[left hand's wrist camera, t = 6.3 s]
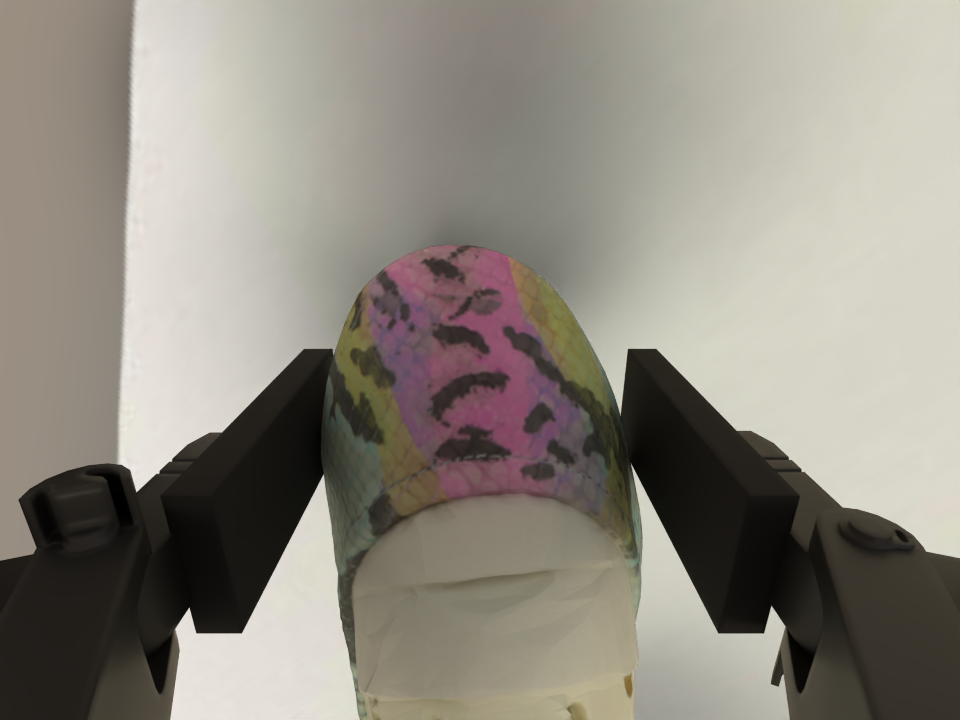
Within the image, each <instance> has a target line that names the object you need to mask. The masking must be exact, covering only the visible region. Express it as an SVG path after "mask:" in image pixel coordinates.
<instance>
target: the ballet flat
mask: <svg viewBox="0 0 960 720" xmlns="http://www.w3.org/2000/svg"><path fill="white" fill-rule="evenodd" d="M321 460H322V467H323V472H324V479H325V487H326V494H327V500H328V507H329V512H330V518H331V525H332V536H333V542H334V553H335V562H336V566H337V570H338V600H339V607H340V617H341V620H342V625H343V632H344V635H345V639H346V644H347V647H348V651H349V658H350V667H351V670H352V674H353V680H354V686H355V691H356V699H357V709H358V715H359V718H360V720H634V670H635V669H636V667H637V666H638V658H639V653H638V644H637V635H636V626H635V621H636V616H637V612H638V607H639V602H640V594H641V560H642V525H641V517H640V509H639V503H638V498H637V493H636V487H635V482H634V477H633V472H632V467H631V461H630V455H629V450H628V445H627V440H626V436H625V431H624V426H623V423H622V419H621V416H620V413H619V409H618V406H617V403H616V399H615V396H614V393H613V391H612V388H611V386H610V383H609V381H608V378H607V376H606V373H605V371H604V369H603V367H602V365H601V363H600V361H599V359H598V357H597V356H596V354H595V352H594V350H593V348H592V346H591V344H590V342H589V341H588V339H587V337H586V335H585V334H584V332H583V330H582V329H581V327H580V325H579V323H578V322H577V320H576V318H575V317H574V315H573V313H572V312H571V310H570V309H569V308H568V306H567V305H566V303H565V302H564V301H563V300H562V299H561V297H560V296H559V295H558V294H557V293H556V291H555V290H554V289H553V288H552V287H551V286H550V285H549V284H548V283H547V282H546V281H545V280H543V279H542V278H541V277H540V276H538V275H537V274H536V273H535V272H534V271H532V270H531V269H530V268H528V267H526V266H525V265H523V264H521V263H520V262H518V261H516V260H515V259H513V258H511V257H508V256H506V255H503V254H501V253H498V252H495V251H491V250H488V249H485V248H482V247H475V246H469V245H468V246H456V245H442V246H434V247H429V248H425V249H422V250H419V251H416V252H413V253H410V254H408V255H406V256H404V257H402V258H400V259H398V260H396V261H395V262H393V263H392V264H390V265H389V266H387V267H386V268H384V269H383V270H382V271H381V272H380V273H379V274H378V275H376V276H375V277H374V278H373V279H372V280H371V281H370V282H369V283H368V284H367V285H366V286H365V287H364V288H363V289H362V291H361V292H360V293H359V295H358V297H357V299H356V301H355V303H354V305H353V307H352V309H351V311H350V313H349V315H348V317H347V319H346V322H345V324H344V327H343V330H342V333H341V336H340V339H339V341H338V344H337V347H336V350H335V353H334V356H333V359H332V363H331V368H330V372H329V376H328V380H327V384H326V392H325V399H324V406H323V416H322V427H321Z"/></svg>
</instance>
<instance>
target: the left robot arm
mask: <svg viewBox="0 0 960 720" xmlns="http://www.w3.org/2000/svg"><path fill="white" fill-rule="evenodd" d="M332 359H333V350H332V349H304V350H303V351H302V352H301V353H300V354H299V355H298V356H297V357H296V358H295V359H294V360H293V361H292V362H291V363H290V364H289V365H288V366H287V367H286V368H285V369H284V370H283V371H282V372H281V373H280V374H279V375H278V376H277V377H276V378H275V379H274V380H273V381H272V382H271V383H270V384H269V385H268V386H267V387H266V388H265V389H264V390H263V391H262V393H261V394H260V395H259V396H258V397H257V398H256V399H255V400H254V401H253V402H252V403H251V404H250V405H249V406H248V407H247V408H246V409H245V410H244V411H243V412H242V413H241V414H240V415H239V416H238V417H237V418H236V419H235V420H234V421H233V422H232V423H231V424H230V425H229V426H228V427H227V428H226V429H225V430H224V431H223V432H222V433H208V434H207V435H205V436H203V437H201V438H199V439H197V440H195V441H194V442H192V443H190V444H188V445H187V446H186V447H185V448H184V449H182V450H181V451H180V452H179V453H178V454H177V455H176V456H175V457H174V458H173V459H172V462H169V463H168V464H166V465H165V466H164V467H163V468H162V469H161V470H160V473H159V474H156V475H155V476H154V477H153V478H152V479H151V480H149V481H148V482H147V483H146V484H145V485H144V486H143V487H142V488H141V489H140V490H139V491H138V492H137V493H136V489H135V486H134V482H133V479H132V475H131V472H130V470H129V469H127V468H126V467H124V466H123V465H116V464H108V463H107V464H98V465H88V466H85V467H81V468H76V469H72V470H69V471H66V472H63V473H61V474H58V475H56V476H53V477H51V478H48V479H46V480H44V481H43V482H41V483H39V484H37V485H36V486H34V487H32V488H30V489H29V490H28V491H27V492H26V493H25V494H24V495H23V496H22V497H21V498H20V499H19V503H20V505H21V508H22V510H23V513H24V516H25V518H26V521H27V523H28V526H29V529H30V531H31V534H32V537H33V539H34V542H35V545H36V547H37V548H36V550H35V552H34V554H32V555H27V556H22V557H17V558H12V559H7V560H2V561H0V720H170V716H171V709H172V702H173V695H174V687H175V680H176V673H177V666H178V658H179V651H180V650H179V643H178V638H177V634H176V631H175V628H176V627H177V625H178V624H179V622H180V621H181V619H182V618H183V616H184V615H185V613H186V612H187V610H188V609H189V607H190V611H191V615H192V618H193V622H194V626H195V630H196V633H242V632H243V630H244V628H245V626H246V624H247V622H248V620H249V618H250V616H251V615H252V613H253V611H254V609H255V607H256V605H257V603H258V601H259V599H260V597H261V595H262V593H263V591H264V589H265V587H266V585H267V583H268V581H269V579H270V578H271V576H272V574H273V572H274V570H275V568H276V566H277V564H278V562H279V560H280V558H281V556H282V554H283V552H284V550H285V548H286V546H287V544H288V542H289V541H290V539H291V537H292V535H293V533H294V531H295V529H296V527H297V525H298V523H299V521H300V519H301V517H302V515H303V513H304V511H305V509H306V507H307V505H308V504H309V502H310V500H311V498H312V496H313V494H314V492H315V490H316V488H317V486H318V484H319V482H320V480H321V478H322V476H323V474H324V472H323V467H322V460H321V427H322V416H323V406H324V399H325V392H326V384H327V380H328V376H329V372H330V368H331V363H332ZM621 419H622V423H623V426H624V431H625V436H626V440H627V445H628V450H629V455H630V461H631V464H632V466H633V468H634V470H635V472H636V474H637V476H638V477H639V479H640V481H641V483H642V485H643V487H644V489H645V491H646V493H647V495H648V497H649V499H650V501H651V503H652V505H653V507H654V509H655V511H656V513H657V514H658V516H659V518H660V520H661V522H662V524H663V526H664V528H665V530H666V532H667V534H668V536H669V538H670V540H671V542H672V544H673V546H674V548H675V550H676V551H677V553H678V555H679V557H680V559H681V561H682V563H683V565H684V567H685V569H686V571H687V573H688V575H689V577H690V579H691V581H692V583H693V585H694V587H695V588H696V590H697V592H698V594H699V596H700V598H701V600H702V602H703V604H704V606H705V608H706V610H707V612H708V614H709V616H710V618H711V620H712V622H713V624H714V625H715V627H716V629H717V631H718V633H764V631H765V627H766V624H767V620H768V616H769V612H770V609H771V605H772V607H773V608H774V610H775V611H776V613H777V614H778V616H779V617H780V619H781V620H782V622H783V623H784V625H785V626H786V627H785V631H784V634H783V638H782V642H781V645H780V649H779V652H778V656H777V659H776V663H775V666H774V670H773V674H772V680H771V684H772V685H775V686H778V687H779V683H780V680H781V677H782V675H783V674H784V679H785V686H786V693H787V700H788V707H789V715H790V720H960V558H955V557H950V556H945V555H940V554H935V553H930V552H926V551H925V549H924V547H923V546H922V545H921V544H920V543H919V542H918V540H917V539H916V538H915V537H914V536H913V535H912V534H910V533H909V532H907V531H906V530H905V529H903V528H902V527H900V526H899V525H897V524H895V523H893V522H891V521H889V520H887V519H884V518H882V517H880V516H878V515H875V514H872V513H868V512H865V511H861V510H858V509H850V508H842V507H841V506H840V505H839V504H838V503H837V502H836V501H835V500H834V499H833V498H832V497H831V496H830V495H829V494H827V493H826V492H825V491H824V490H823V489H822V488H821V487H820V486H819V485H818V484H817V483H816V482H815V481H814V480H812V479H811V478H810V477H809V476H808V475H807V474H806V473H805V472H802V471H801V468H800V467H799V466H797V465H796V464H795V463H794V462H793V461H792V460H789V457H788V456H787V455H786V454H785V453H784V452H782V451H781V450H780V449H779V448H778V447H777V446H776V445H775V444H774V443H772V442H770V441H769V440H767V439H765V438H763V437H761V436H759V435H757V434H756V433H754V432H752V431H736V430H735V429H734V428H733V427H732V426H731V425H730V424H729V423H728V422H727V421H726V420H725V419H724V418H723V417H722V416H721V415H720V414H719V412H718V411H717V410H716V409H715V408H714V407H713V406H712V405H711V404H710V403H709V402H708V401H707V400H706V399H705V398H704V397H703V396H702V395H701V394H700V393H699V392H698V391H697V390H696V389H695V388H694V387H693V386H692V385H691V384H690V383H689V382H688V381H687V380H686V379H685V378H684V377H683V376H682V375H681V374H680V373H679V372H678V371H677V370H676V369H675V368H674V367H673V366H672V365H671V364H670V363H669V362H668V361H667V359H666V358H665V357H664V356H663V355H662V354H661V353H660V352H659V351H658V350H657V349H628V354H627V363H626V372H625V381H624V391H623V400H622V409H621Z"/></svg>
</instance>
